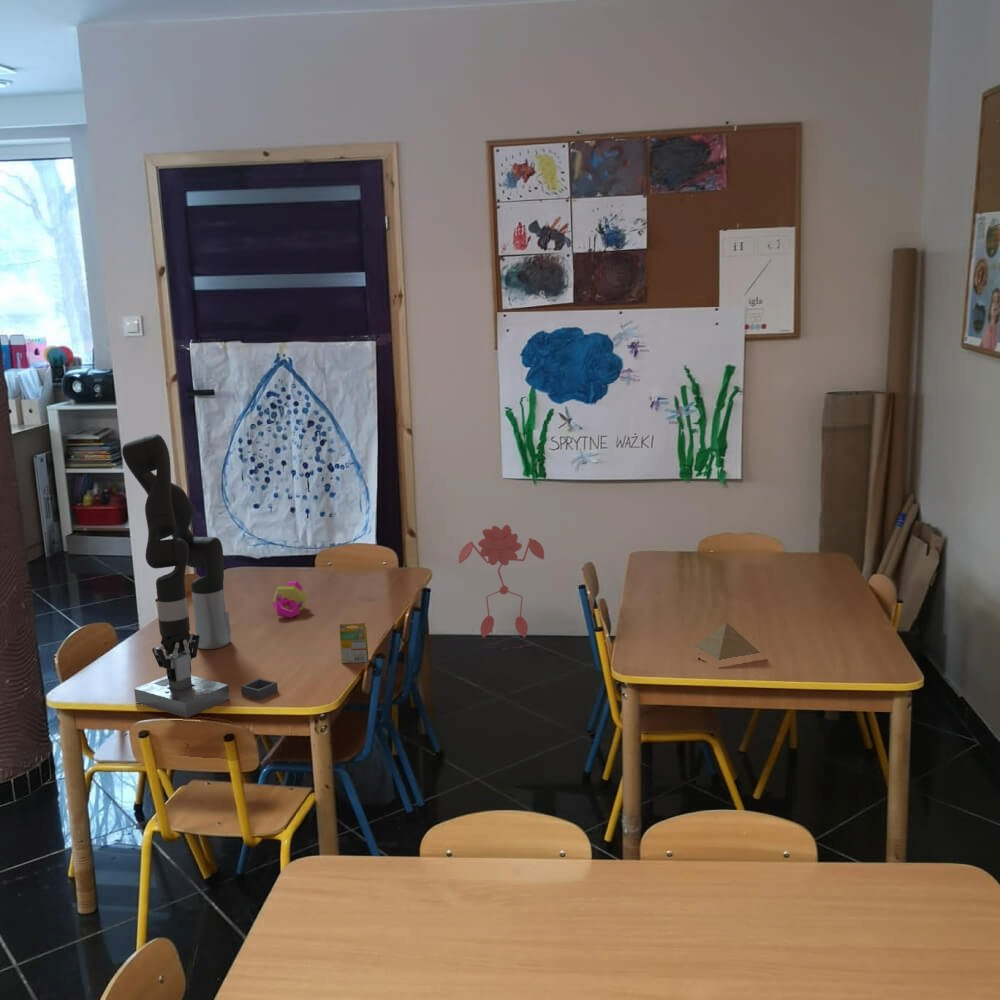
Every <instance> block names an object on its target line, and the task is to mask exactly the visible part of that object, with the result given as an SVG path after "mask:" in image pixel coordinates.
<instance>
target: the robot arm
mask: <svg viewBox="0 0 1000 1000" xmlns="http://www.w3.org/2000/svg"><path fill="white" fill-rule="evenodd" d="M121 454H122V456H123V460H124V462H125V464H126V466H127V467H128V469H129V471H130V472H131V474H132V475H133V476H134V478H135V479H136V480H137V482H138V483H139V484H140V486H141V487H142V488H143V490H144V491H145V493H146V495H147V497H146V500H145V506H144V512H145V513H144V514H145V518H146V525H147V531H148V534H147V535H148V536H147V544H146V549H145V561H146V564H147V565H148V566H149V567H150V568H152V569H157V570H158V569H163V568H172V567H174V568H173V570H172V571H171V572H169V573H167V574H164V575H161V576H159V577H158V578H156V581H155V588H156V598H157V617H158V628H159V634H160V636H161V641H160V644H159V645H158V646H156V647H153V648H152V650H151V651H152V654H153V656H154V658H155V660H156V662H157V665H158V667H159V668H163V669H166V676H167V678H168V680H169V681H171V682H175V681H176V672H175V668H174V666H175V659H176V658H177V654H178V653H182V654H186V655H187V654H189V661H190V671H191V672H192V664H191V662H192V659H195V658H197V655H198V650H199V649H201V650H214V649H215V650H216V649H219V648H223V647H226V646H227V645H229V643H230V642H232V638H231V637H232V635H231V625H230V614H229V611H228V610H226V600H225V590H224V589H225V588H224V577H225V573H224V572H225V571H224V550H223V544H222V541H221V540H220V539H219V538H218V537H215V536H196V535H194V534H193V533H192V531H191V529H190V525H191V524H192V520H193V517H194V512H195V511H194V510H195V509H194V506H193V504H192V502H191V500H190V499H189V497H188V495H187V493H186V492H185V490H184V489H183V488H182V487H181V486H178V485H177V484H176V483H174V482H172V472H171V457H170V452H169V448H168V444H167V443H166V441H165V439H164V438H163V437H162V435H160V434H157V433H156V434H151V435H147V436H144V437H139V438H137V439H134V440H131V441H129V442H126V443H124V445H123V447H122V453H121ZM154 471H156V474H154V473H153V472H154ZM170 536H171V537H172V538H169V537H170ZM165 538H168V539H165ZM187 566H188V567H189V568H193V569H206V570H205V575H204V576H200V577H198V578H195V579H194V580H192V581H191V584H190V587H191V599H192V606H193V607H192V609H193V618H194V628H195V633H190V630H191V626H190V625H191V624H190V613H189V604H188V600H187V596H186V595H187V594H186V586H185V585H186V583H185V582H186V581H185V578H186V577H185V576H186V569H187ZM171 655H172V656H171Z"/></svg>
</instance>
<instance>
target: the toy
mask: <svg viewBox="0 0 1000 1000" xmlns="http://www.w3.org/2000/svg"><path fill="white" fill-rule="evenodd" d="M302 590H303V586H302V585H301V583H299V582H298V581H297V580H294V581H293V580H292V581H288V582H287V583H286V585H282V586H281V585H278V586H277V588H276V591H275V594H274V596H273V601H272V602H273V603H272V605H273V607H274V609H275V612H276V613H277V616H280V617H283V618H287V619H291V618H293V617H296V616H297V615H300V614H301V611H303V610H304V607H305V603H306V602H307V599H308V595H307V594H305V593H304V591H302Z"/></svg>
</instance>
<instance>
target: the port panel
mask: <svg viewBox="0 0 1000 1000" xmlns="http://www.w3.org/2000/svg"><path fill="white" fill-rule="evenodd" d="M191 681H192V687H191V688H188V689H186V690H184V691H181V692H178V691H174V690H170V688H169V680H168V678H167V675H165V676H163V677H160V678H158V679H155V680H153V681H152V680H151V682H148V683H145V684H142V685H140V686H138V687H135V688H134V691H133V692H134V696H135V697H134V698H135V699H134V700H135V703H136V702H138V703H140V704H139V705H141V704H143V705H142V706H144V705H146V706H145V707H148V706H149V707H148V708H152V709H155V710H158V711H162V712H165V713H169V714H172V715H174V716H179V717H182V718H185V719H188V718H191V717H193V716H195V715H198V714H200V713H201V712H204V711H206V710H208V709H211V708H213V707H215V705H216V706H218V705H220V704H223V703H224V701H225V702H226V700H227V701H229V700H230V691H229V685H228V684H226V683H222V682H218V681H215V680H210V679H206V678H202V677H199V676H195V675H192V674H191ZM228 699H229V700H228ZM217 704H218V705H217Z"/></svg>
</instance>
